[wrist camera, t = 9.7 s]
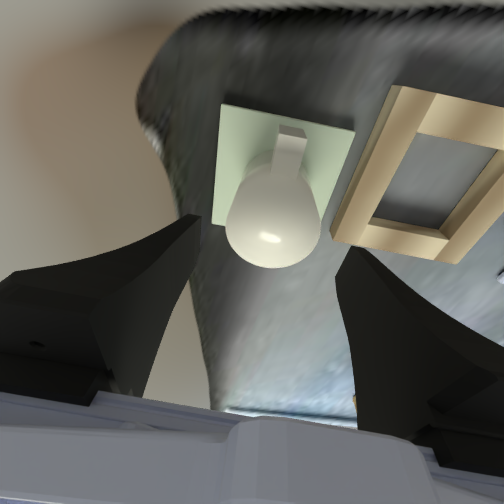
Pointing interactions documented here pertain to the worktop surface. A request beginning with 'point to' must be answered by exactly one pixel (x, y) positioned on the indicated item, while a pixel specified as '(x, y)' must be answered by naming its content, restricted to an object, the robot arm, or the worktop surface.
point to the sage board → (263, 139)
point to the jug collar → (389, 157)
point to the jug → (275, 206)
